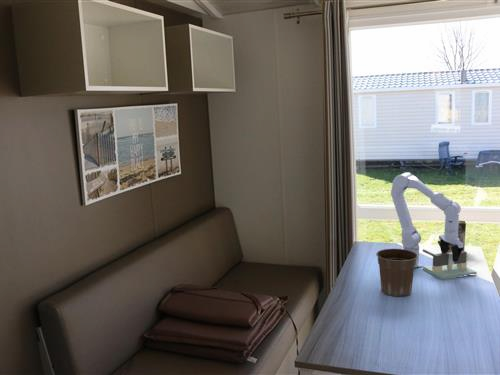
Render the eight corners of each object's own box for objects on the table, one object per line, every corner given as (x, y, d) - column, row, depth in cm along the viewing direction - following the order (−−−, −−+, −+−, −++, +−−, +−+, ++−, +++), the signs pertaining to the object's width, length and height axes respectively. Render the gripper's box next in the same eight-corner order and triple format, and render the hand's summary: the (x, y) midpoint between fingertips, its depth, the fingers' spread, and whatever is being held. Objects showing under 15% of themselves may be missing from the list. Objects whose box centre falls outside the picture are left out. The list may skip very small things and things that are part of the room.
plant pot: (371, 295, 212) (371, 257, 209) (380, 282, 226) (381, 246, 223) (411, 301, 204) (413, 262, 201) (419, 287, 218) (420, 251, 215)
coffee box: (445, 253, 262) (446, 222, 259) (444, 249, 268) (445, 219, 266) (464, 254, 260) (466, 223, 257) (463, 250, 266) (464, 220, 263)
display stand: (441, 279, 227) (442, 271, 226) (422, 269, 240) (423, 261, 239) (476, 274, 232) (476, 266, 231) (455, 265, 245) (456, 257, 244)
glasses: (435, 266, 232) (436, 255, 231) (422, 259, 242) (422, 249, 241) (466, 262, 236) (466, 252, 235) (451, 255, 246) (452, 245, 245)
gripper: (469, 232, 226) (468, 262, 229) (448, 225, 240) (447, 253, 243) (456, 234, 224) (454, 264, 227) (435, 226, 238) (434, 254, 241)
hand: (449, 258), depth 235 cm, fingers open, 7 cm apart
